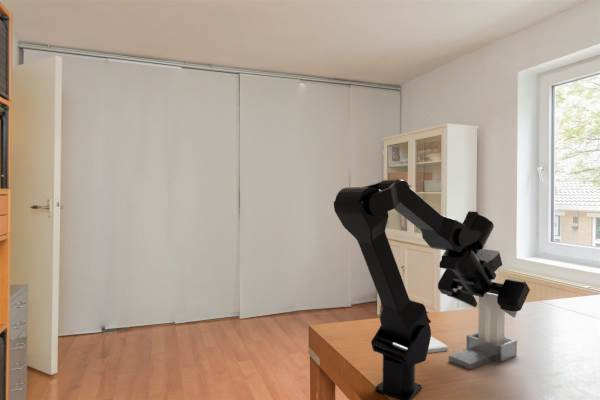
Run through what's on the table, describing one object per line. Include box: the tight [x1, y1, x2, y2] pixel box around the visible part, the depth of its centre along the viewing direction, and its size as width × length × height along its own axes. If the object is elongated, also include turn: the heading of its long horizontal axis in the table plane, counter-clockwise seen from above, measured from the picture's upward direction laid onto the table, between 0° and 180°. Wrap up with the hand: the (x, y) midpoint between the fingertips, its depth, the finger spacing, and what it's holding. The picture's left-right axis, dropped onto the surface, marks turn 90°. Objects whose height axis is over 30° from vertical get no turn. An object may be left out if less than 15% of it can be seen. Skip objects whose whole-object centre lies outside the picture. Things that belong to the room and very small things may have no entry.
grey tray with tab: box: [448, 331, 518, 370], centre depth 87 cm, size 16×8×3 cm, turn 124°
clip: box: [477, 292, 506, 345], centre depth 90 cm, size 3×4×12 cm
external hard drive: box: [393, 335, 449, 354], centre depth 93 cm, size 2×8×12 cm
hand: (494, 310), depth 90 cm, fingers open, 9 cm apart
